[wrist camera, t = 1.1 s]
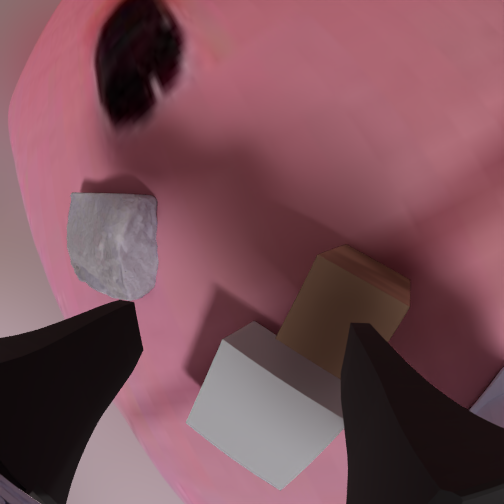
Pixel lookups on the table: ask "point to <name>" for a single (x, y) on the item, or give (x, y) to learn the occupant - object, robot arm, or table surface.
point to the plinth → (267, 405)
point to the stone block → (114, 242)
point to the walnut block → (343, 305)
